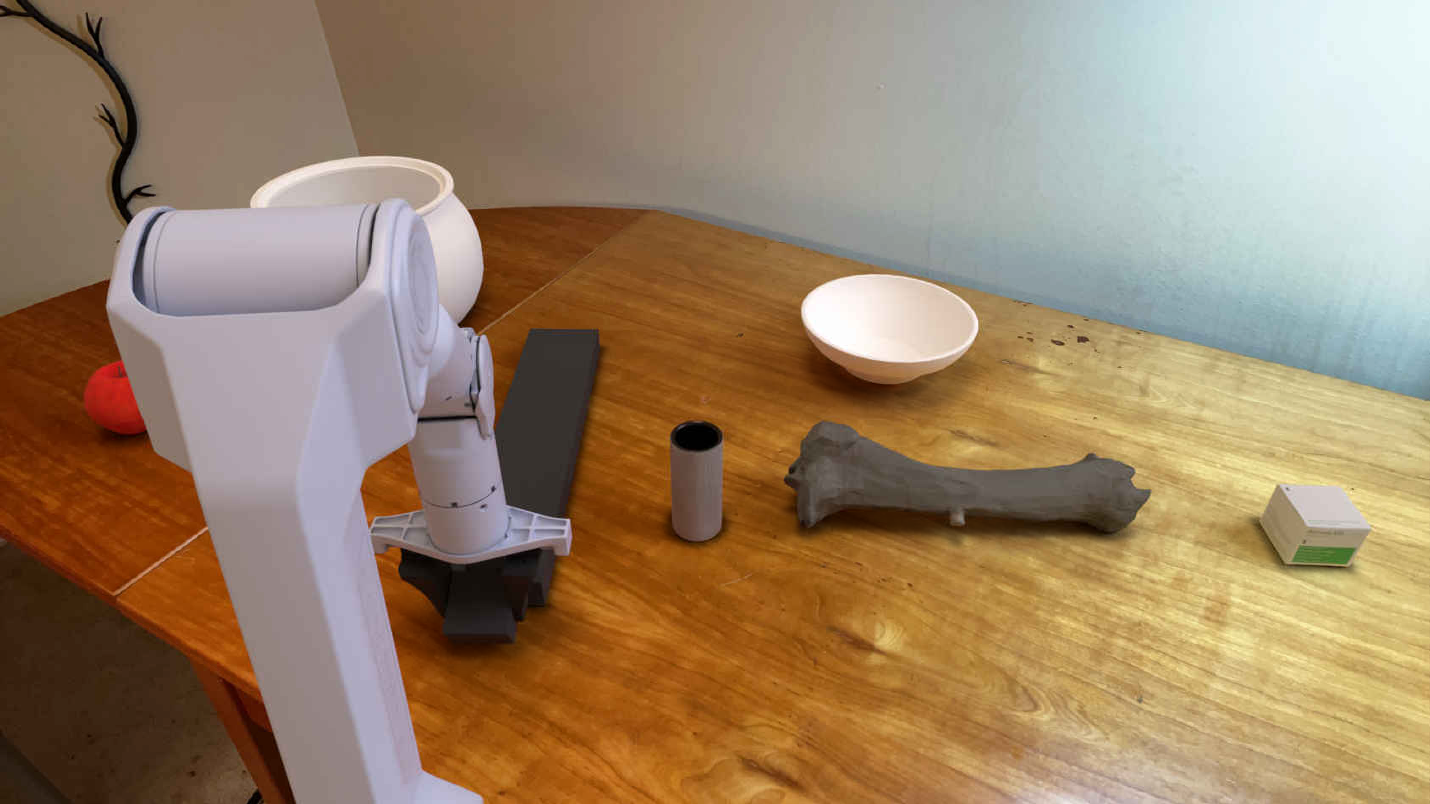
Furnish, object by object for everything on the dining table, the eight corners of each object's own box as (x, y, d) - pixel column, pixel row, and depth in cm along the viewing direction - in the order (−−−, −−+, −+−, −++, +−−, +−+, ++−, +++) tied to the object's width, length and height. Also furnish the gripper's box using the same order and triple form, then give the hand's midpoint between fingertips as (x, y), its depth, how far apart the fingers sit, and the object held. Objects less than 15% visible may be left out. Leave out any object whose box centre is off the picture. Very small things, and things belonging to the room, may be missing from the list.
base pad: (545, 606, 75) (541, 582, 73) (448, 605, 75) (442, 581, 73) (600, 349, 107) (598, 329, 106) (532, 348, 108) (530, 328, 106)
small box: (1284, 566, 79) (1306, 525, 76) (1256, 521, 84) (1275, 481, 81) (1351, 569, 79) (1375, 528, 76) (1319, 524, 84) (1341, 483, 81)
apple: (149, 455, 91) (121, 394, 86) (80, 444, 92) (50, 384, 88) (201, 409, 97) (178, 350, 93) (136, 400, 98) (110, 342, 94)
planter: (731, 519, 84) (733, 430, 78) (704, 549, 80) (704, 458, 74) (690, 502, 85) (688, 413, 80) (662, 530, 82) (659, 440, 76)
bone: (781, 540, 81) (787, 460, 76) (780, 472, 89) (785, 395, 84) (1149, 555, 80) (1180, 474, 75) (1115, 484, 88) (1141, 407, 83)
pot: (325, 257, 127) (294, 144, 117) (513, 262, 126) (497, 148, 117) (223, 373, 103) (175, 242, 93) (455, 380, 102) (429, 248, 93)
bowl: (957, 431, 95) (968, 376, 91) (777, 395, 100) (780, 342, 96) (976, 339, 110) (986, 288, 106) (819, 312, 115) (823, 263, 111)
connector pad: (514, 644, 71) (507, 634, 68) (450, 643, 71) (441, 633, 68) (526, 547, 75) (520, 534, 72) (466, 546, 75) (457, 533, 72)
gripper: (570, 446, 67) (584, 575, 75) (374, 444, 67) (409, 573, 75) (556, 511, 61) (573, 643, 69) (342, 509, 61) (383, 641, 69)
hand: (486, 611), depth 72 cm, fingers closed on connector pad, 5 cm apart
